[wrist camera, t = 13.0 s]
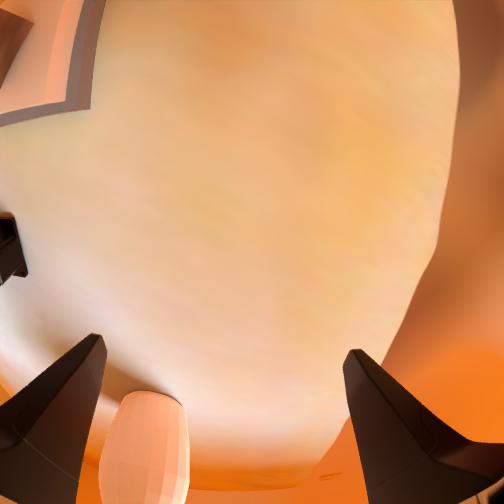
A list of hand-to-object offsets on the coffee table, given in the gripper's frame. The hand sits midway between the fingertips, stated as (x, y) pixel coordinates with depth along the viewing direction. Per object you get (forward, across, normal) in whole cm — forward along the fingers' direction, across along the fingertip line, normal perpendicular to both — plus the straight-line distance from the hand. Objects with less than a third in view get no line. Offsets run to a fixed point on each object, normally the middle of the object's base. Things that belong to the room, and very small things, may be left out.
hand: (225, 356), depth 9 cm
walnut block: (+8, +18, -14) cm, 24 cm away
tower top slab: (+11, +17, -14) cm, 25 cm away
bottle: (+13, +9, +28) cm, 32 cm away
